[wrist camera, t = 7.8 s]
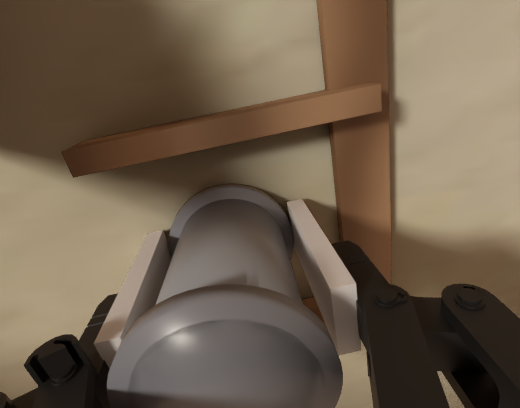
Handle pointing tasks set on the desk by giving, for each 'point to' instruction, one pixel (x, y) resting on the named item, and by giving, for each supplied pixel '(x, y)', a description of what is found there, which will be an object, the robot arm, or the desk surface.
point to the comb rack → (296, 117)
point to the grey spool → (227, 317)
